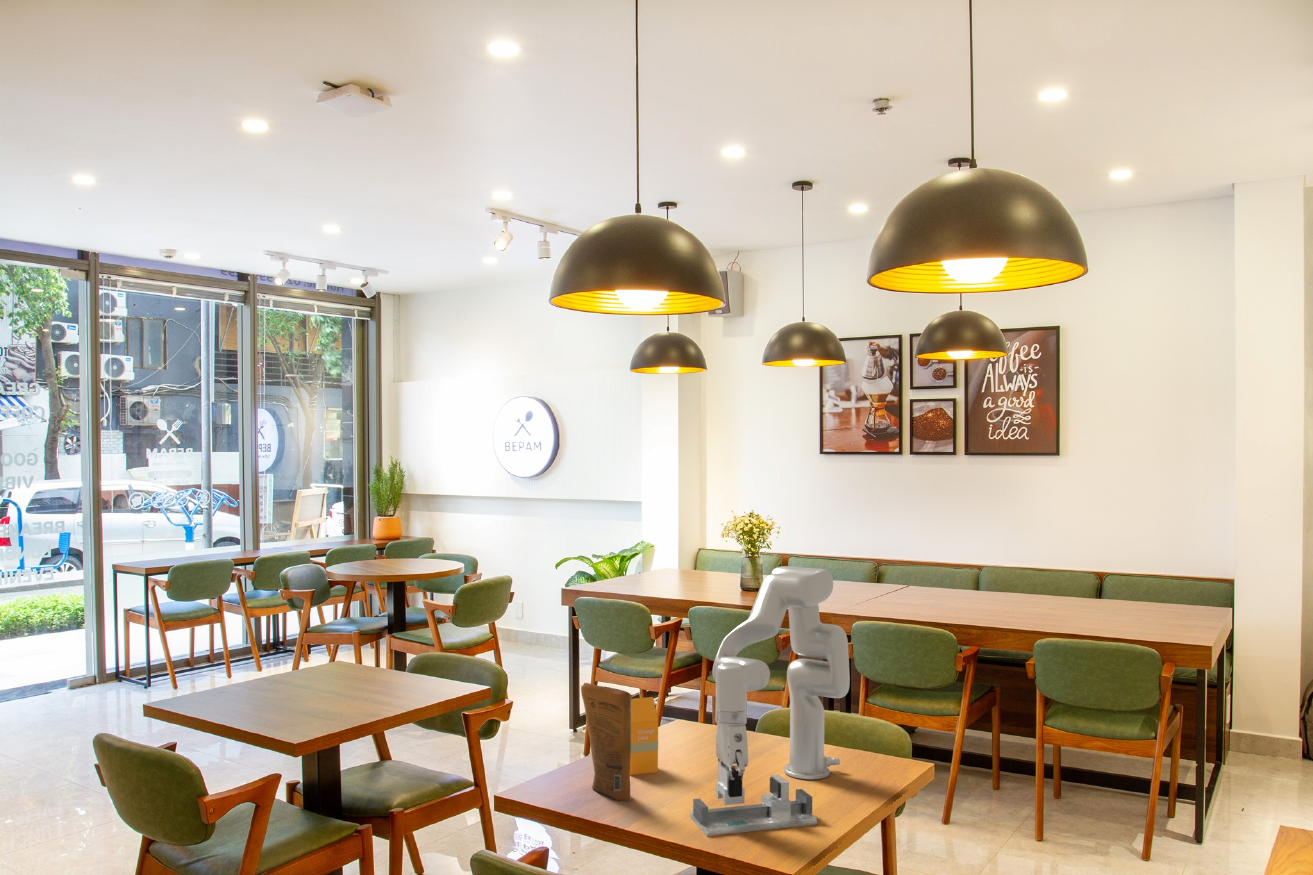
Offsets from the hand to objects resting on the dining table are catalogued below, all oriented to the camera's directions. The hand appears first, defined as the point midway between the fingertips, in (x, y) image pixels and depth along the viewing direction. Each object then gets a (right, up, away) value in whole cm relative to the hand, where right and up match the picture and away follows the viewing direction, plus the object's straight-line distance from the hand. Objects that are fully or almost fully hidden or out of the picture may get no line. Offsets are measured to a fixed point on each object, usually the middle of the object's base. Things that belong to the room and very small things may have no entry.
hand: (730, 790), depth 225 cm
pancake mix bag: (-30, -8, +20) cm, 37 cm away
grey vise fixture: (+6, -8, +1) cm, 10 cm away
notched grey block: (0, -2, 0) cm, 2 cm away
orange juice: (-23, -9, +40) cm, 47 cm away
